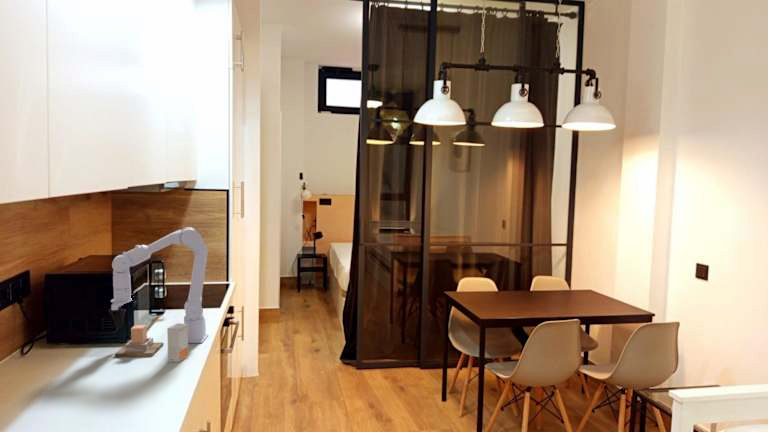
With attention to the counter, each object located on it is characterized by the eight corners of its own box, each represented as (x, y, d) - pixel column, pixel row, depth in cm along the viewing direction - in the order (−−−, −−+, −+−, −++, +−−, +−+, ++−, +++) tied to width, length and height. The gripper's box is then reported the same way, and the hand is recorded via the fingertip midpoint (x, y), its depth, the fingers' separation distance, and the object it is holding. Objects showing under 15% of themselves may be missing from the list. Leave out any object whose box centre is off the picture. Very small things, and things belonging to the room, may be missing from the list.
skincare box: (178, 362, 177) (177, 329, 176) (167, 361, 178) (166, 328, 177) (188, 356, 183) (187, 323, 182) (178, 355, 184) (177, 323, 183)
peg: (136, 346, 190) (135, 325, 189) (147, 345, 190) (146, 324, 190) (131, 350, 186) (130, 328, 185) (143, 349, 186) (142, 328, 186)
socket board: (127, 346, 193) (127, 336, 193) (163, 345, 194) (162, 336, 194) (114, 357, 182) (114, 347, 182) (152, 356, 183) (152, 346, 183)
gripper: (119, 283, 195) (120, 318, 197) (101, 292, 181) (103, 330, 182) (138, 283, 196) (139, 318, 197) (122, 292, 182) (124, 330, 183)
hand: (123, 324), depth 190 cm, fingers open, 7 cm apart
